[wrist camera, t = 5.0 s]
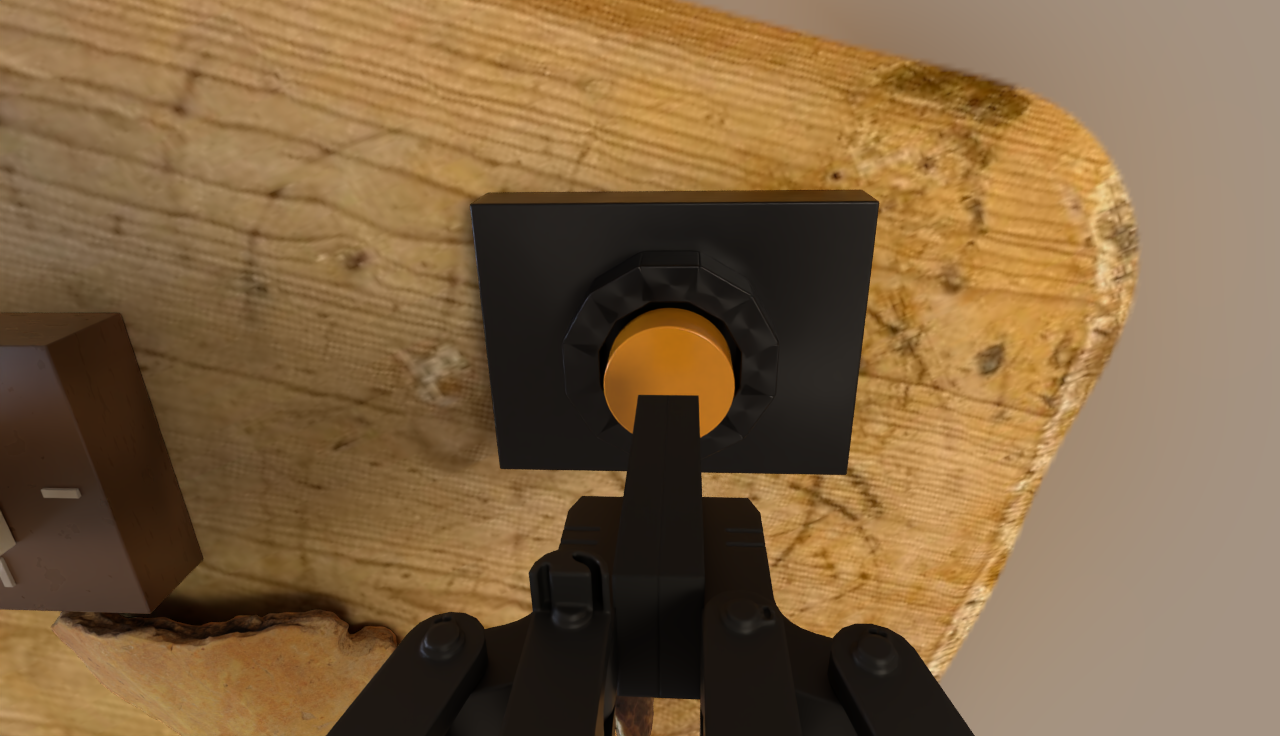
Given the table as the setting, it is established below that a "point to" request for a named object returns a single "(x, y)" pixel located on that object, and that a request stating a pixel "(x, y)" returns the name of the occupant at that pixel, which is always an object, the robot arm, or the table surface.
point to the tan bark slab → (231, 668)
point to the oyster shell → (633, 715)
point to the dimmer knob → (5, 536)
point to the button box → (686, 279)
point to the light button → (670, 365)
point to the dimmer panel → (84, 472)
